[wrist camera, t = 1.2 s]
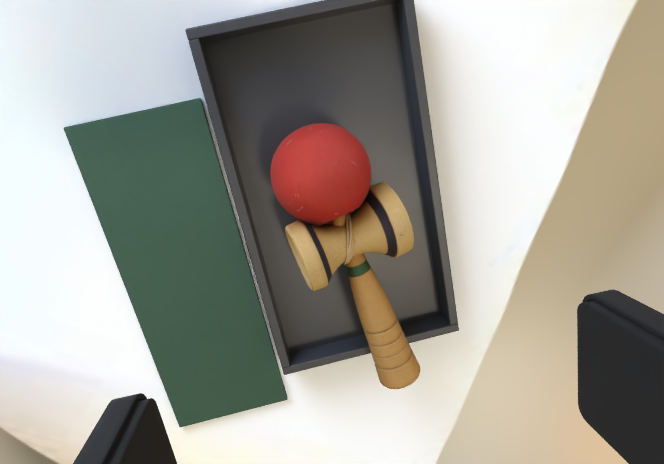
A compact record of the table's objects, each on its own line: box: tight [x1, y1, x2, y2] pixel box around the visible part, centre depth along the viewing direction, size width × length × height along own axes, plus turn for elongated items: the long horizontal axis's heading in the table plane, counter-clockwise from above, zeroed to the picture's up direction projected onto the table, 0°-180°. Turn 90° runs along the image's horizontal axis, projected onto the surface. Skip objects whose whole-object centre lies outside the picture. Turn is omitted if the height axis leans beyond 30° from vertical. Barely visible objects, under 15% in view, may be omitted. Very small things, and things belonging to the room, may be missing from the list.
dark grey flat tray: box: [186, 0, 459, 375], centre depth 28 cm, size 23×13×2 cm, turn 12°
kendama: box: [270, 123, 420, 389], centre depth 27 cm, size 8×6×18 cm
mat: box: [64, 98, 287, 427], centre depth 30 cm, size 23×8×1 cm, turn 12°
